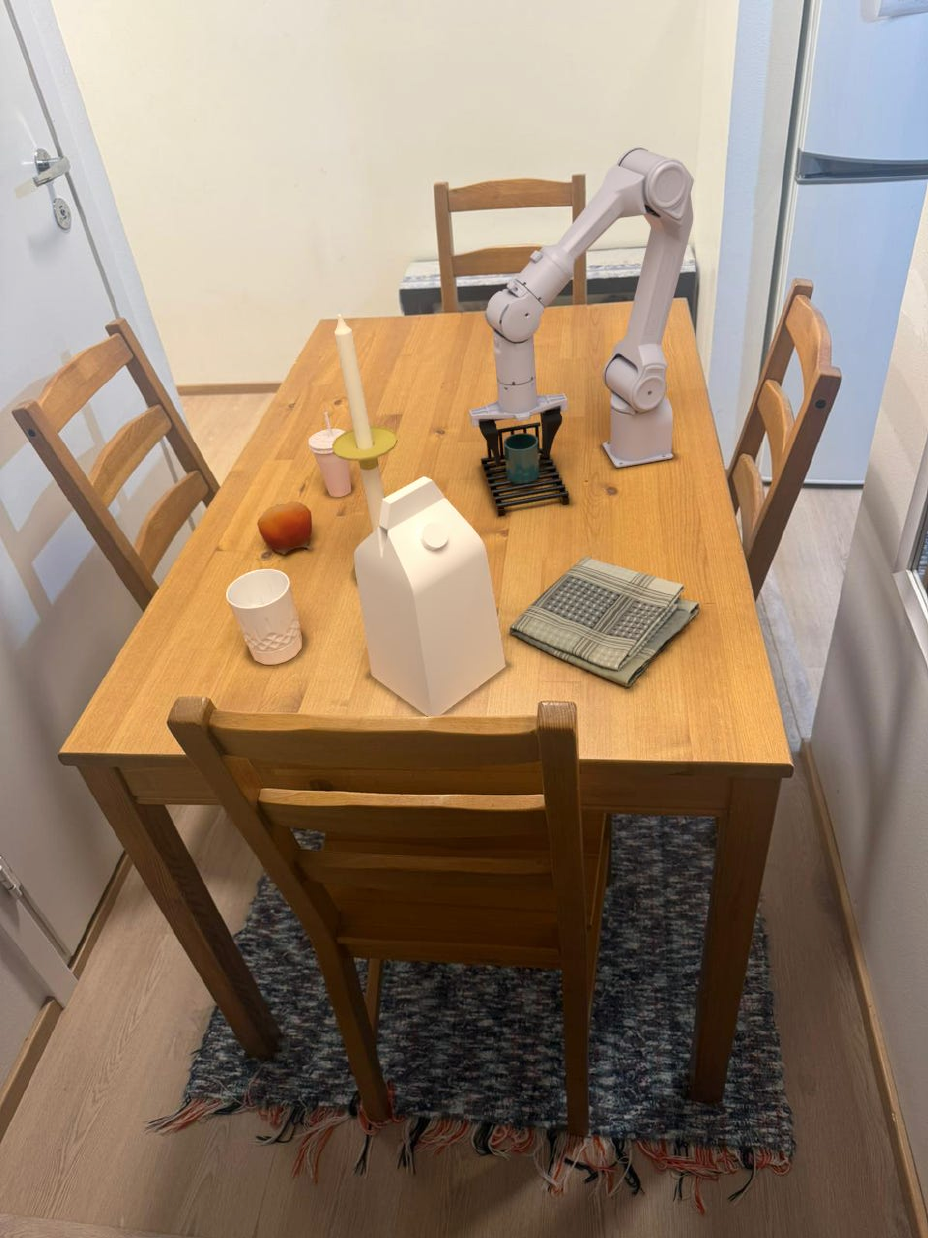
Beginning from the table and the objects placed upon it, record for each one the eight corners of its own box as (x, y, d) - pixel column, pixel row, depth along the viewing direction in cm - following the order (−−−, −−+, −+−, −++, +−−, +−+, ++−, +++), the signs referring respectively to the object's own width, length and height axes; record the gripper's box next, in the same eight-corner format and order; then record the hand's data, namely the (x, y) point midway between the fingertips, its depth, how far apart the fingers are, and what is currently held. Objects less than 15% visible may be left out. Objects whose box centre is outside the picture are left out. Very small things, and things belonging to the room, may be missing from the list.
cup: (535, 463, 140) (534, 430, 136) (543, 480, 136) (541, 446, 132) (503, 469, 140) (500, 436, 136) (509, 485, 135) (507, 452, 132)
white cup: (250, 632, 118) (230, 573, 111) (308, 624, 117) (291, 564, 111) (244, 672, 111) (222, 612, 105) (305, 664, 111) (287, 603, 105)
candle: (435, 554, 127) (396, 295, 103) (404, 596, 120) (354, 329, 96) (375, 544, 131) (324, 291, 107) (341, 583, 124) (279, 323, 100)
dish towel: (504, 636, 111) (503, 617, 109) (583, 565, 121) (583, 546, 119) (631, 694, 101) (632, 674, 99) (706, 611, 111) (708, 591, 109)
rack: (546, 456, 145) (545, 419, 141) (569, 504, 133) (568, 465, 129) (481, 468, 144) (477, 431, 140) (498, 516, 133) (494, 477, 129)
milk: (443, 627, 114) (415, 449, 98) (505, 666, 107) (487, 482, 91) (371, 675, 108) (329, 496, 92) (432, 720, 101) (398, 535, 85)
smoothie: (352, 502, 140) (335, 422, 131) (315, 501, 142) (295, 422, 133) (364, 480, 145) (348, 403, 136) (327, 480, 147) (309, 403, 138)
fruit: (276, 563, 127) (255, 511, 125) (268, 563, 134) (249, 514, 133) (328, 544, 129) (308, 492, 128) (318, 545, 137) (299, 496, 135)
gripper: (471, 396, 124) (480, 479, 132) (571, 379, 125) (574, 463, 133) (463, 376, 129) (472, 457, 138) (559, 360, 130) (562, 441, 139)
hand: (522, 459), depth 136 cm, fingers open, 7 cm apart
